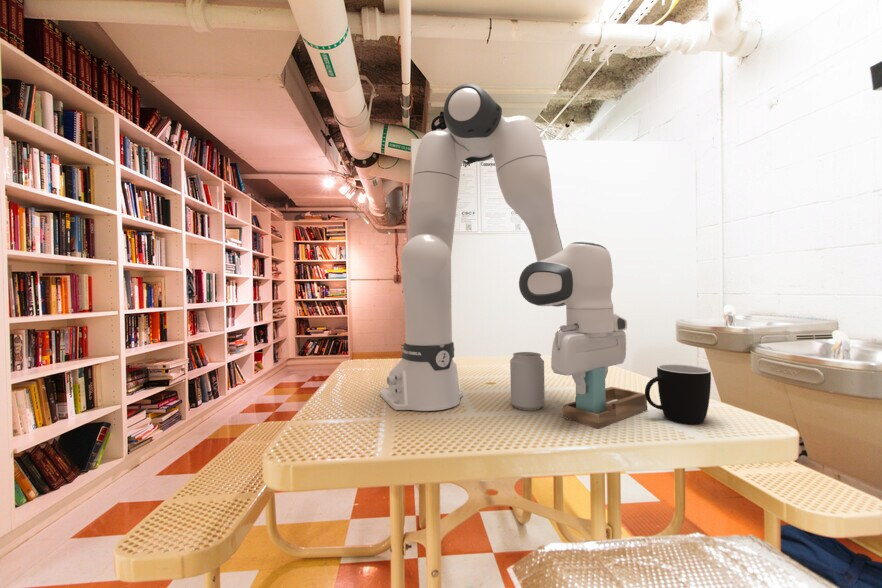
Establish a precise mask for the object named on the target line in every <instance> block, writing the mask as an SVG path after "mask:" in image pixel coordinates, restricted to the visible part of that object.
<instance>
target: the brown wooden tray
mask: <svg viewBox="0 0 882 588" xmlns="http://www.w3.org/2000/svg"><path fill="white" fill-rule="evenodd" d="M605 395H606V411H605V412H602V413H599V414H595V413H592V412H588V411H585V410H581V409H578V408H576V396H575V399H574V400H575V401H572V402H569V403H565V404H563V405H562V418H563V417H566V418H568V419H567V420H569V419H571V420H570V421H572V420H574V421H573V422H575V423H576V422H577V423H579V424H582V425H585V426H588V427H591V428H595V429H597V430H600V429H602V428H605V427H607V426H610V425H613V424H615V423H617V421H618V422H620V421H623V420H625V418H626V419H628V418H631V417H633V416H636V415H639V414H641V413H643V411H644V412H646V410H647V411H648V401H647V399H646V396H645V392H644V393H643V392H638V391H635V390H629V389H625V388H619V387H615V386H609V387H605ZM638 413H639V414H638ZM635 414H636V415H635ZM632 415H633V416H632ZM630 416H631V417H630ZM566 418H565V419H566Z"/></svg>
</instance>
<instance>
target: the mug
mask: <svg viewBox="0 0 882 588" xmlns="http://www.w3.org/2000/svg"><path fill="white" fill-rule="evenodd" d="M656 375H657V376H655V377H652V379H650V380H649V381H648V382H647V383H646V385H645V389H644V394H645V396H646V399H647V403H648V404H649V405H650V406H652V407H653V408H655V409H657V410H661V411H662V413H663V415H664V417H665V419H667V420H670V421H672V422H675V423H679V424H685V425H699V424H702V423H704V421H705V420H706V417H707V415H708V410H709V407H710V406H709V404H710V397H711V387H712V386H711V385H712V373H711V370H710V369H709V368H706V367H702V366H698V365H692V364H679V363H678V364H677V363H665V364H664V363H663V364H659V365H657V367H656ZM656 383H657V388H658V389H657V390H658V397H659V400H660V401H659V402H660V404H656V403H655V402H653V399H652V398H651V395H650V392H651V388H652V387H653V385H654V384H656Z"/></svg>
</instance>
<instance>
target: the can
mask: <svg viewBox="0 0 882 588" xmlns="http://www.w3.org/2000/svg"><path fill="white" fill-rule="evenodd" d="M512 356H513V357H511V359H510V361H509V363H510V365H509V366H510V367H509V368H510V373H509V374H510V403H511V404H512V405H513V406H514V408H515V409H518V408H520V409H519V410H521V409H526V410H525V411H536V410H535V409H538V410H540V409H541V408H542V407H544V405H545V404H546V397H545V392H546V391H545V389H546V388H545V361H544V359H543V358H542V357H541V356H542V354H541V353H539V352H534V351H533V352H532V351H520V352H519V351H518V352H514V353H512ZM539 408H540V409H539Z"/></svg>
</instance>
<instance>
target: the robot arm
mask: <svg viewBox="0 0 882 588" xmlns="http://www.w3.org/2000/svg"><path fill="white" fill-rule="evenodd" d="M443 105H444V106H443V118H444V122H445V126H446V128H445V129H442V130H439V129H438V130H431V131H429V132H427V133H425V135H423V136H422V137H421V140H420V142H419V145H418V148H417V153H416V156H415V159H414V160H415V161H414V166H413V173H412V181H411V182H412V183H411V189H410V199H409V201H410V202H409V210H408V214H409V215H408V216H409V219H408V236H407V237H408V240H407V242H406V243H405V245H404V246H403V247H402V251H401V256H400V257H401V259H400V261H401V265H400V266H401V279H402V280H401V281H402V291H403V293H402V294H403V306H404V326H405V327H404V332H405V334H404V335H405V341H404V343H403V344H401V347H402V348H401V350H402V351H401V355H400V356H401V359H400V360H399V361H398V362H397V364H396V365H395V366H394V367H393V368H392V369H391V370H390V371H389V374H388V376H387V377H386V383H387V386H388V387H386V388H383V389H381V390H380V391H379V396H380V397H381V398H382V399H383V400H384V401H385V402H386V403H387V404H388V405H389V406H390V407H391V408H392V409H393V410H396V411H406V410H407V411H418V412H430V411H431V412H432V411H433V412H434V411H442V410H449V409H451V408H453V407H454V408H455V407H457V406H458V405H459V404H460V403H461V398H462V397H463V391H461V390H460V383H459V374H458V367H457V364H456V362H455V361H454V359H453V358H455V344H454V341H453V323H452V322H453V321H452V319H453V318H452V253H453V252H452V251H453V242H454V241H453V239H454V232H455V224H456V216H457V215H456V214H457V206H458V195H459V187H460V178H461V168H462V164H463V163H464V164H466V165H470V164H473V163H477V162H484V161H489V160H490V159H492V158H493V161H494V165H495V171H496V176H497V180H498V185H499V188H500V191H501V194H502V196H503V198H504V201H505V203H506V204H507V205H508V207H510V209H511V210H513V212H515V213H516V215H518V217H520V219H521V220H522V221H523V222H524V224H525V225H526V227H527V229H528V232H529V234H530V238H531V241H532V242H531V243H532V245H533V246H532V247H533V250H534V253H535V259H536V262H535V261H534V262H532V263H530V264H528V265H526V267H525V268H523V270H522V271H521V273H520V276H519V280H518V288H519V292H520V294H521V295H522V297H523V299H524V300H526V301H527V302H528V303H530V304H532V305H534V306H538V307H557V308H559V307H564V306H566V311H565V312H566V317H565V318H566V319H565V320H566V325H560V326H559V328H558V329H557V331H556V332H555V333H554V338H553V341H552V348H551V349H552V350H551V359H550V361H551V362H550V363H551V364H550V365H551V369H552V371H553V373H554V374H557V375H561V376H566V377H567V376H571V377H572V379H573V381H574V383H575V393H576V392H577V393H578V394H582V395H583V394H586V393H588V385H587V384H586V383H585V380H584V377H585V372H587V371H591V370H593V369H597V368H602V367H605V379H606V378H607V375H608V373H609V367H612V366H617V365H622V364H624V363H625V362H624V361H625V359H626V356H627V335H626V332H625V330H627V328H628V321H627V319H626V318H623V317H621V316H619V315H618V314H616V313H614V303H613V301H612V292H613V289H614V288H613V287H614V276H613V275H614V274H613V263H612V257H611V254H610V251H609V250H608V249H607V247H605V246H603V245H601V244H598V243H594V242H585V241H575V242H571V243H569V244H568V245H567V246H566V247H565V248H564V247H563V245H562V239H561V236H560V232H559V228H558V224H557V221H556V220H557V219H556V216H555V207H554V206H555V205H554V200H553V191H552V180H551V173H550V166H549V162H548V157H547V151H546V150H545V145H544V143H543V139H542V137H541V136H542V135H541V134H540V131H539V129H538V127H537V125H536V123H535V122H534V119H532V118H531V117H528V116H527V115H521V114H520V115H513V116H510V117H509V116H508V117H507V116H506V117H505V116H504V115H502V114H503V109H502V107H501V105H500V104H499V103H498V102H497V101H495V99H493V97H492V96H491V95H489V93H488V92H487V91H486V90H485V89H484V88H482V87H481V86H478V85H477V84H473V83H464V84H461V85H458V86H457V87H455V88H454V89H452V90H451V91H450V93H449V94H448V95H447V97H446V99H445V101H444V104H443Z"/></svg>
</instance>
